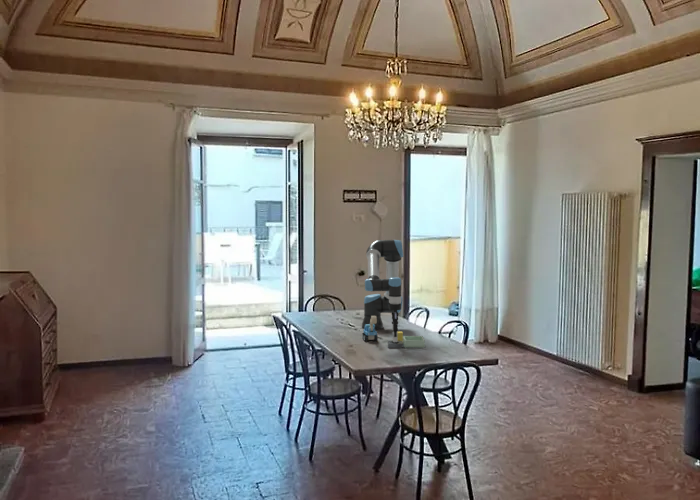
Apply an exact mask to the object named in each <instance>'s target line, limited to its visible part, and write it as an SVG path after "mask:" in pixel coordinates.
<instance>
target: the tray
mask: <svg viewBox="0 0 700 500" xmlns="http://www.w3.org/2000/svg"><path fill="white" fill-rule="evenodd" d="M403 348H405V349H410V348H411V349H413V348H414V349H419V348H421V349H422V348H423V349H425V348H426V347H425V339H424V337H423V335H403Z"/></svg>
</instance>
